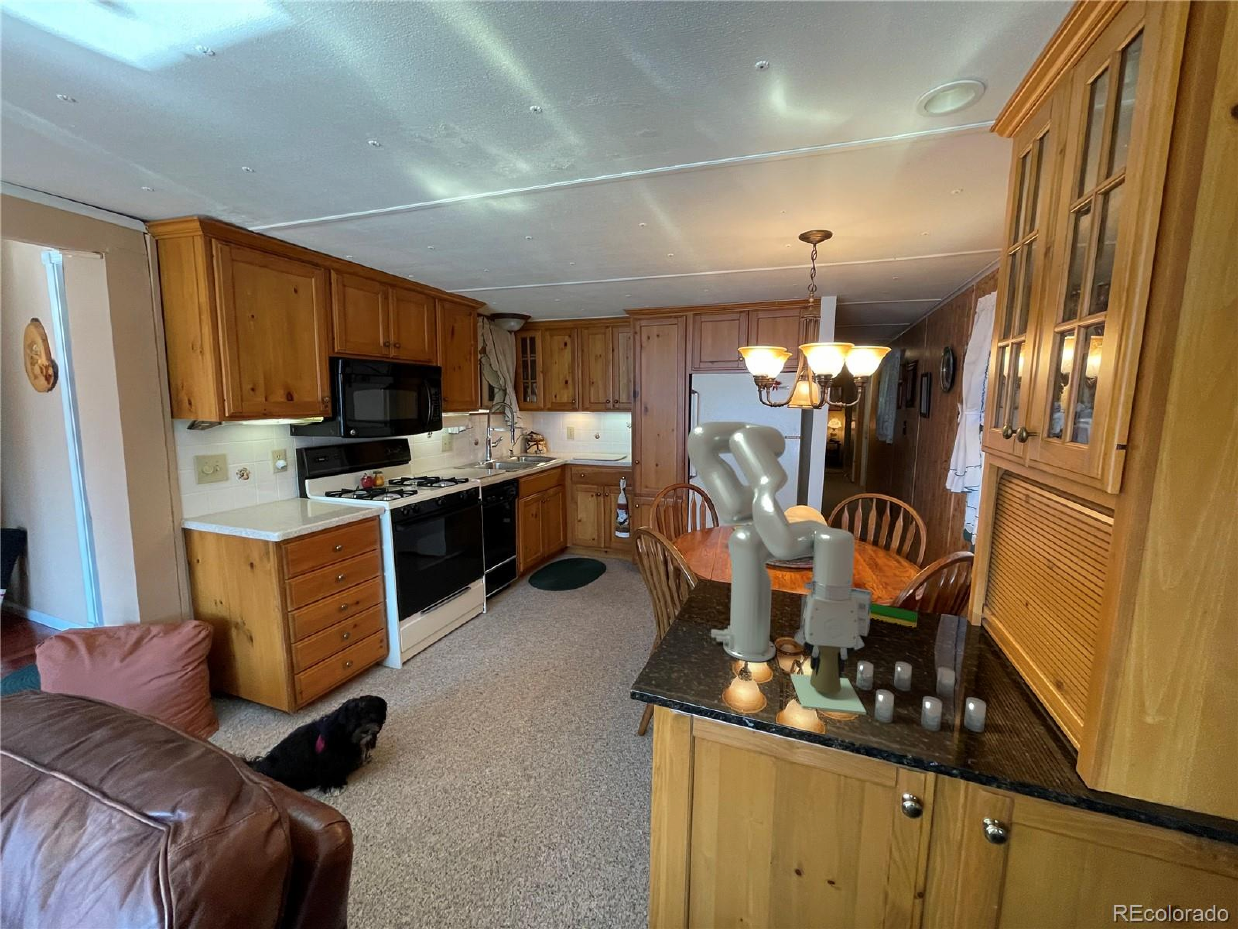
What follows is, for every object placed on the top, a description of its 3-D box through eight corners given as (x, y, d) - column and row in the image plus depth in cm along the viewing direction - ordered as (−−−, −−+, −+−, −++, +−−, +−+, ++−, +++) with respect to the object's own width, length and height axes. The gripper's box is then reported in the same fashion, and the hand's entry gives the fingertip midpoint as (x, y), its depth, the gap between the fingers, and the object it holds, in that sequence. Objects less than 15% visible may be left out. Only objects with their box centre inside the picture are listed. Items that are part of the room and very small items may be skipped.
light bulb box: (869, 628, 133) (872, 590, 132) (867, 637, 127) (869, 598, 126) (828, 618, 139) (830, 582, 138) (823, 627, 133) (826, 590, 132)
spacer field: (879, 725, 92) (881, 700, 91) (853, 679, 108) (854, 658, 107) (990, 736, 89) (993, 711, 88) (946, 687, 105) (948, 665, 104)
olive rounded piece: (844, 695, 98) (847, 643, 97) (812, 691, 99) (815, 640, 98) (837, 678, 104) (840, 630, 103) (807, 675, 105) (810, 627, 104)
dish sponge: (863, 609, 147) (864, 601, 146) (917, 620, 139) (917, 612, 139) (860, 617, 141) (860, 609, 140) (916, 629, 133) (916, 621, 133)
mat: (802, 708, 97) (802, 706, 97) (790, 676, 109) (790, 673, 109) (866, 714, 95) (866, 712, 95) (847, 681, 107) (847, 678, 107)
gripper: (792, 593, 97) (788, 679, 99) (881, 599, 94) (875, 687, 97) (786, 580, 104) (782, 660, 106) (868, 585, 102) (862, 667, 104)
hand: (826, 672), depth 101 cm, fingers closed on olive rounded piece, 3 cm apart
